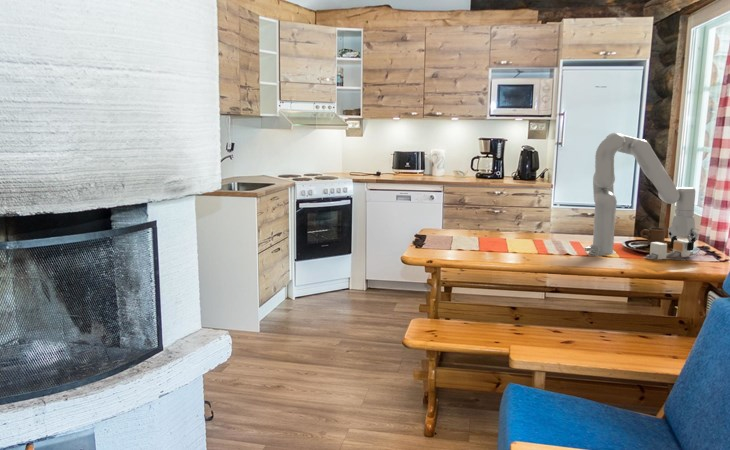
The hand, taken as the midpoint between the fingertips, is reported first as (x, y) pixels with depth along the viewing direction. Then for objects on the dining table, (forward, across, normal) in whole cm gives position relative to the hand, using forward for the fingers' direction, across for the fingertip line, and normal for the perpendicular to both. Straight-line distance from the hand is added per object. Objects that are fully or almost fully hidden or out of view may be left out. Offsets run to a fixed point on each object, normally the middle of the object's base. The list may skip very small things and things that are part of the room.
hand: (681, 248), depth 275 cm
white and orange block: (+4, 0, 0) cm, 4 cm away
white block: (+4, 0, -14) cm, 14 cm away
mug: (+5, -26, +7) cm, 27 cm away
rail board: (+5, 0, -7) cm, 8 cm away
